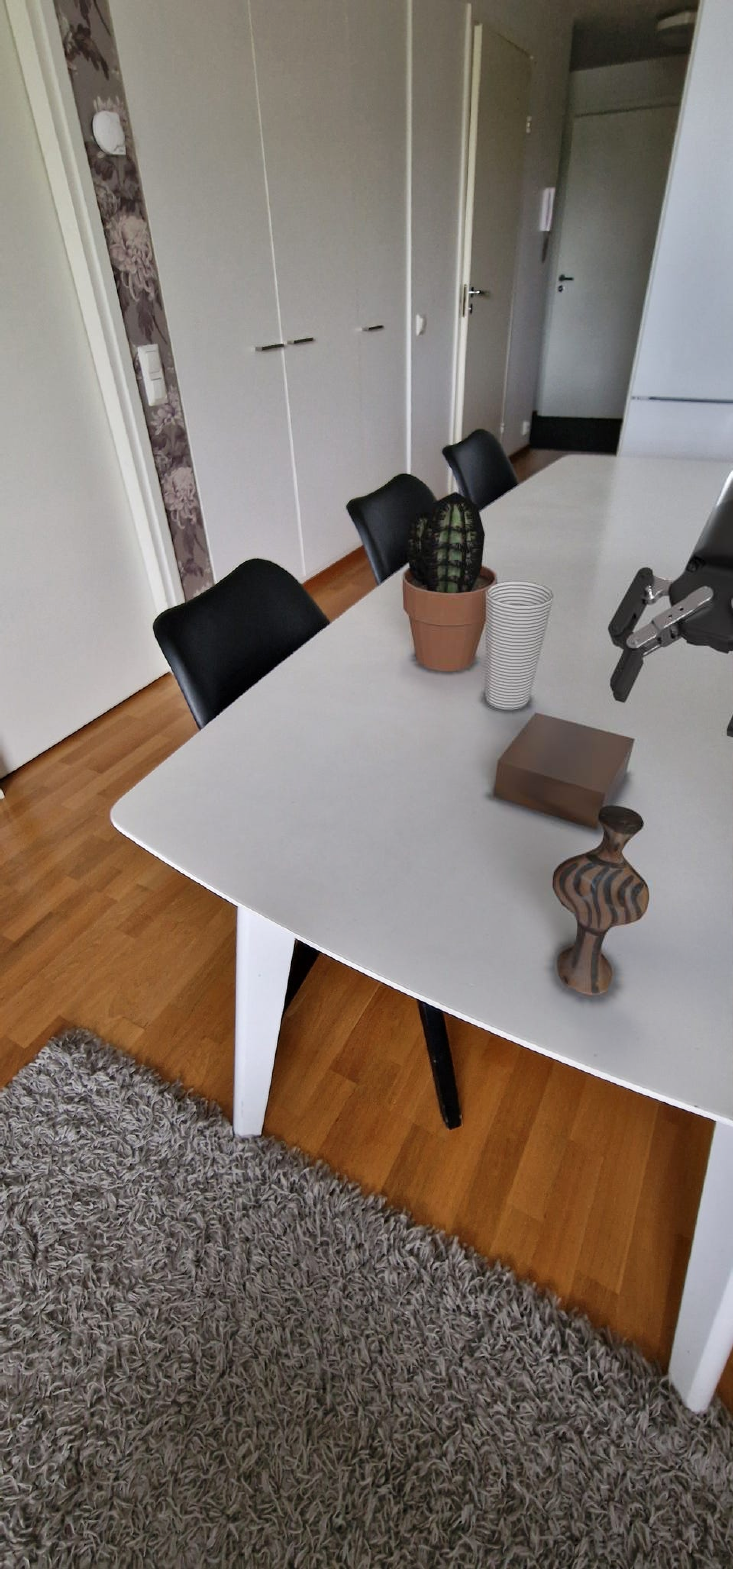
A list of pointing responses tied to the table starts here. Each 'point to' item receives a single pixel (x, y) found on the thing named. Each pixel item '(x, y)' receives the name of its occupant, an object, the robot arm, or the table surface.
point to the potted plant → (446, 583)
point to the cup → (514, 640)
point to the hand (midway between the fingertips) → (672, 716)
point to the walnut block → (563, 769)
